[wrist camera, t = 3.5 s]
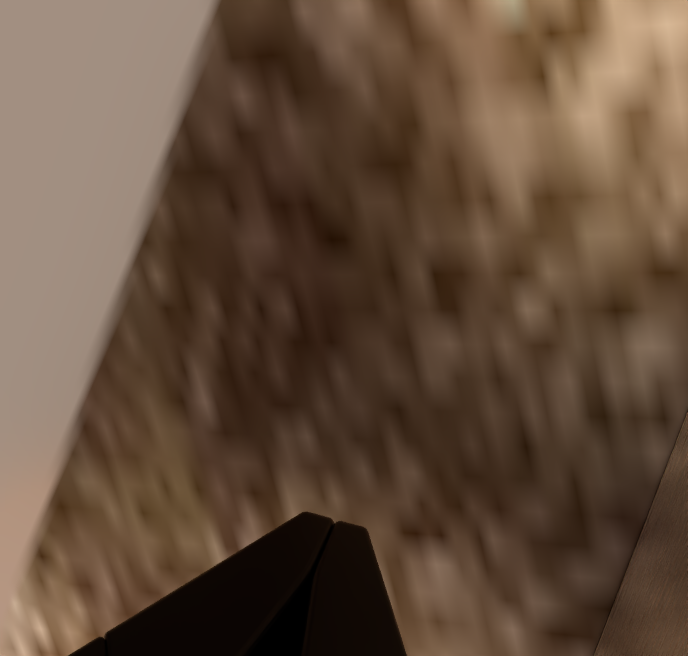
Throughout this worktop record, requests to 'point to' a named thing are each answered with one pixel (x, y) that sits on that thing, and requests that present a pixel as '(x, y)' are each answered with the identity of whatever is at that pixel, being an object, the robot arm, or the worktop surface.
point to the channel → (656, 574)
